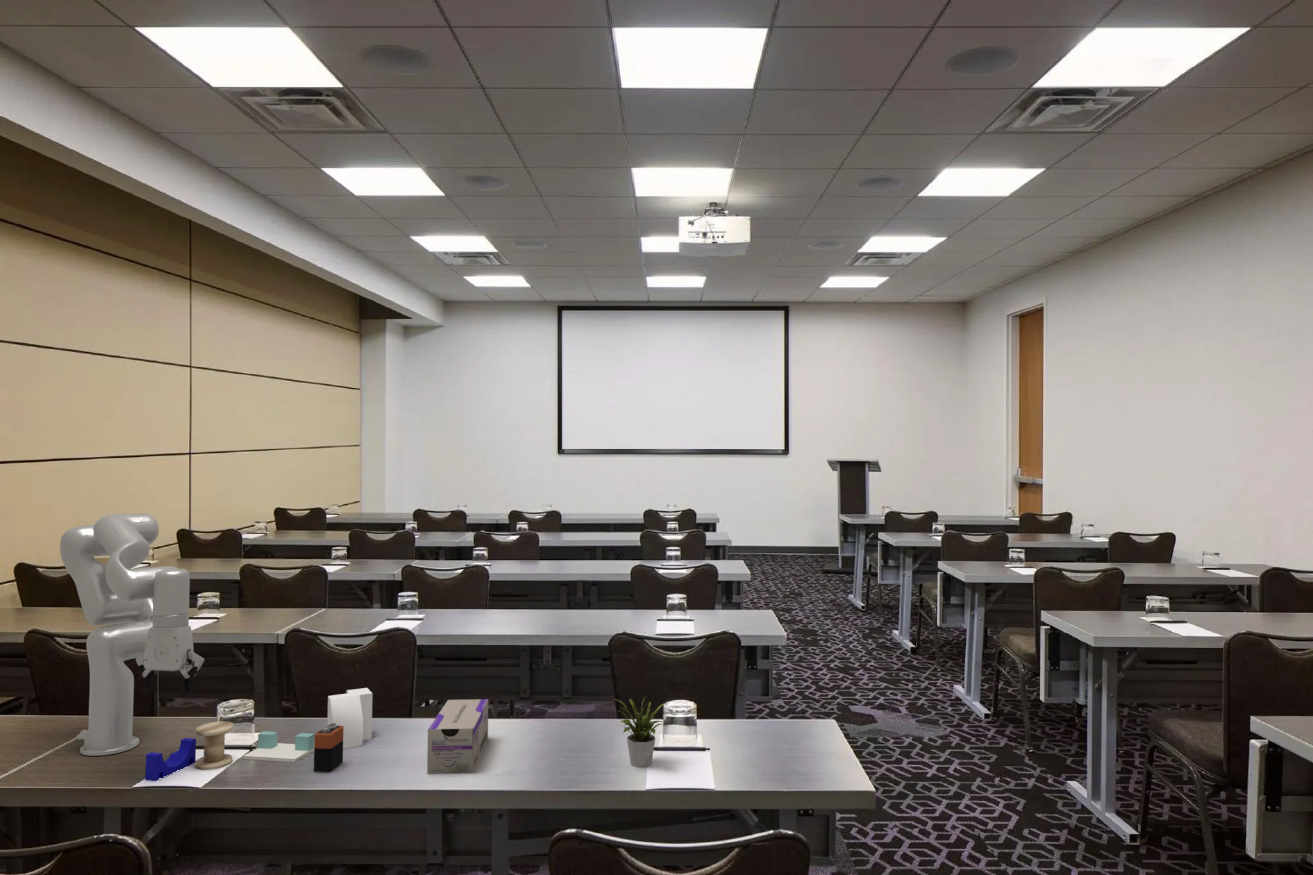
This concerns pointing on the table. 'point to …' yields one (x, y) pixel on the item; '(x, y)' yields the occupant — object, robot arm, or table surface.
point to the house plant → (640, 735)
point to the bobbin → (214, 745)
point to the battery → (328, 748)
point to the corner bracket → (352, 715)
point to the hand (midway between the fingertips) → (169, 693)
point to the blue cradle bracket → (170, 760)
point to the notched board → (281, 748)
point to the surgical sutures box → (457, 737)
